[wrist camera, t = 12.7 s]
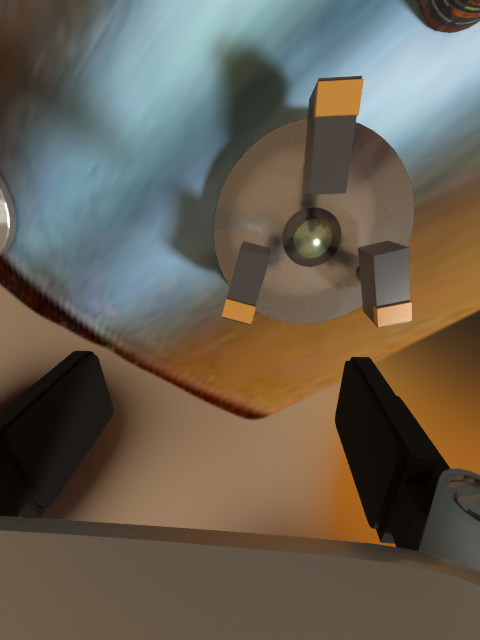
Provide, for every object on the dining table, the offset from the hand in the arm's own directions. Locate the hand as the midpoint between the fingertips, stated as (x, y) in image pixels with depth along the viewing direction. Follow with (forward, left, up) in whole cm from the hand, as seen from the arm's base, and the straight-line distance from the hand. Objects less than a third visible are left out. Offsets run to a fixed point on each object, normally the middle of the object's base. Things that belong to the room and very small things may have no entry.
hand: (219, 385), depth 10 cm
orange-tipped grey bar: (+7, +8, -18) cm, 21 cm away
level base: (+6, +2, -20) cm, 21 cm away
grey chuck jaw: (0, 0, -18) cm, 17 cm away
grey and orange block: (+11, -2, -18) cm, 21 cm away
